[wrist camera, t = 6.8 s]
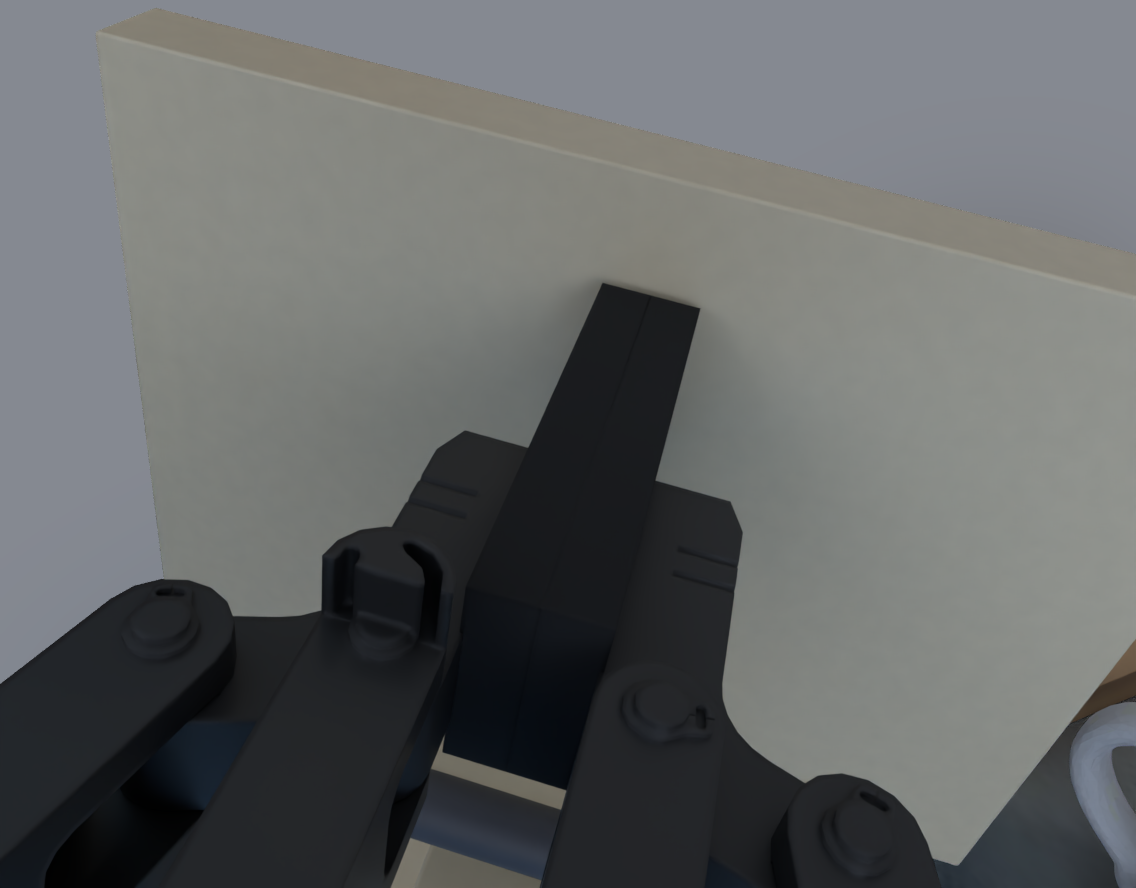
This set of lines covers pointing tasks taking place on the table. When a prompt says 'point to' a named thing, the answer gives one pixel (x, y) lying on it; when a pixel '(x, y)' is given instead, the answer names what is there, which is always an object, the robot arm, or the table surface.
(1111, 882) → the table surface
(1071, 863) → the table surface
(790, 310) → the panel
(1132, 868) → the teacup
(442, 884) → the monitor stand
